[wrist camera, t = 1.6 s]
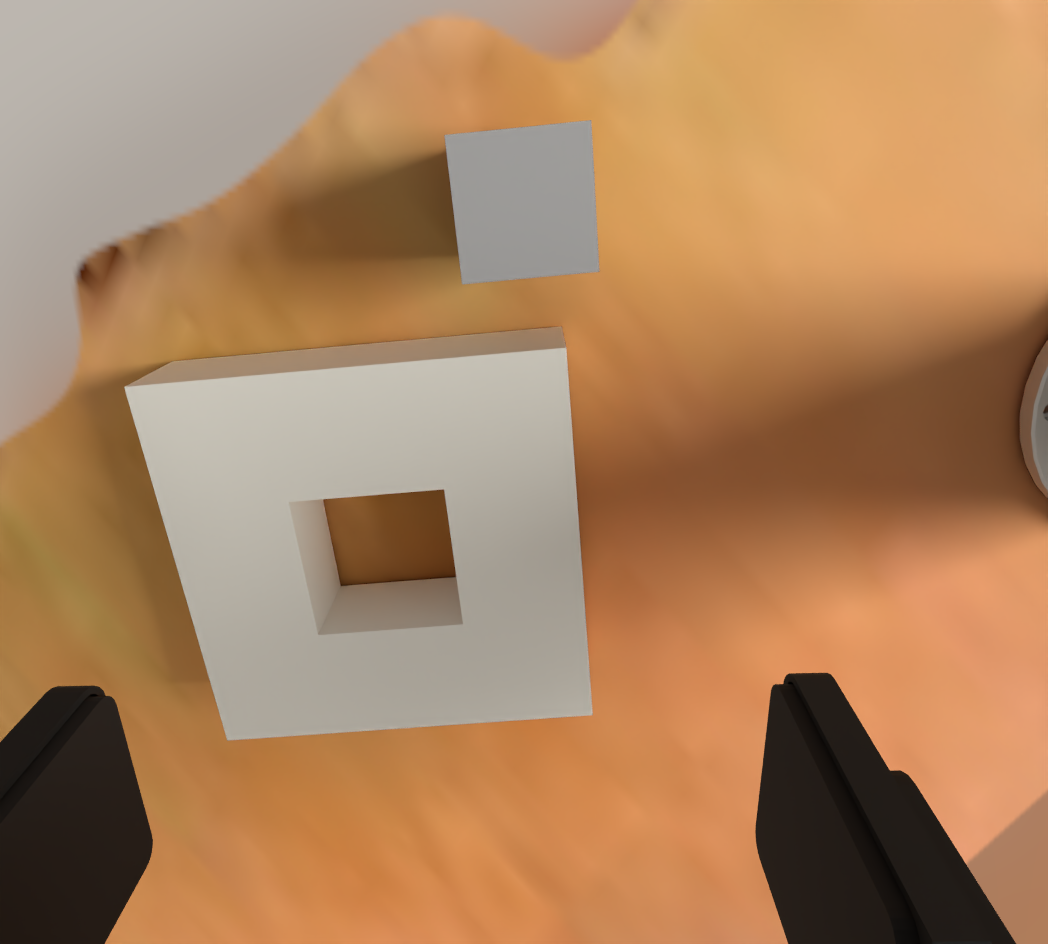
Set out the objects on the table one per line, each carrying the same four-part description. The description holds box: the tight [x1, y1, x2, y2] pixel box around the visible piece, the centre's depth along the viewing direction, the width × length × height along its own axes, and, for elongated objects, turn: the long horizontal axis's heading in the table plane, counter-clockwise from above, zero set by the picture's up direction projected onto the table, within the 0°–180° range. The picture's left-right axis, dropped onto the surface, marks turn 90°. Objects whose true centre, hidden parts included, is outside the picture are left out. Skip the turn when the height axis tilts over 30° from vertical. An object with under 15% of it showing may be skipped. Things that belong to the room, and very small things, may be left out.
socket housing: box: [124, 326, 593, 741], centre depth 32 cm, size 16×16×4 cm
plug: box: [445, 120, 599, 284], centre depth 25 cm, size 4×4×8 cm
